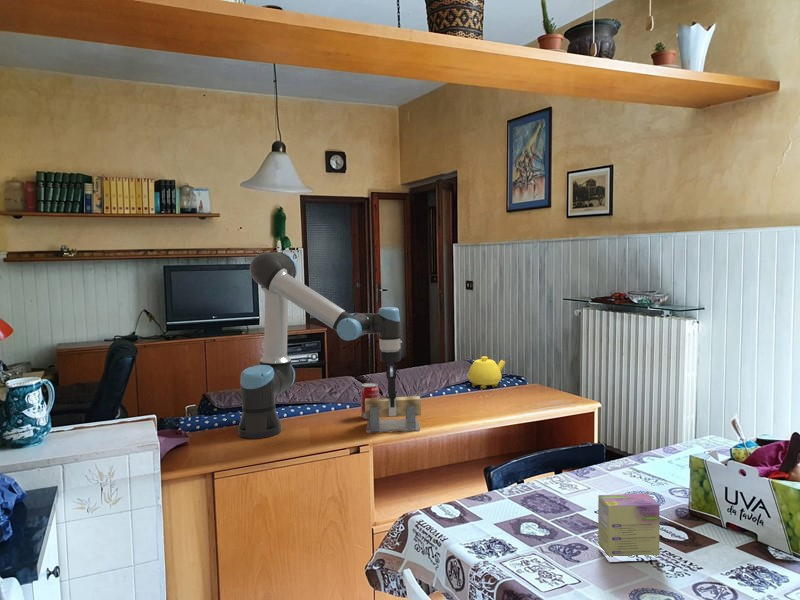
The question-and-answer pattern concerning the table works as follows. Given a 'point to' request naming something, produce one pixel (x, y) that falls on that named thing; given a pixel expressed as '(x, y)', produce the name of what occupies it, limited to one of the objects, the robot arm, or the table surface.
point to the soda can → (368, 395)
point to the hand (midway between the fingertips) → (392, 413)
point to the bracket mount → (392, 422)
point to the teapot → (485, 372)
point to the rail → (400, 406)
